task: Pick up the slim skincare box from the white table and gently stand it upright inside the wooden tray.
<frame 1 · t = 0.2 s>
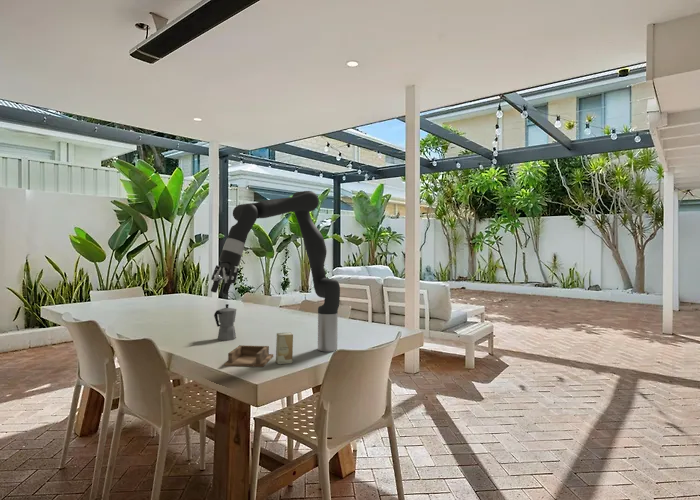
hand: (218, 292, 164), 31 cm above the table, tool tilted 20°, fingers open, 8 cm apart
skincare box: (284, 363, 182), on the table
coffeepot: (225, 339, 225), on the table
wooden tray: (249, 360, 184), on the table
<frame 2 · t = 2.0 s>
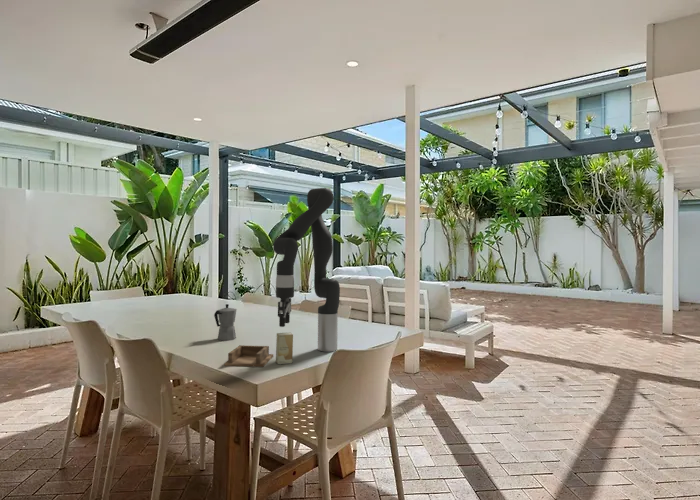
hand: (284, 324, 182), 16 cm above the table, tool pointing down, fingers open, 8 cm apart
nothing on the table moved.
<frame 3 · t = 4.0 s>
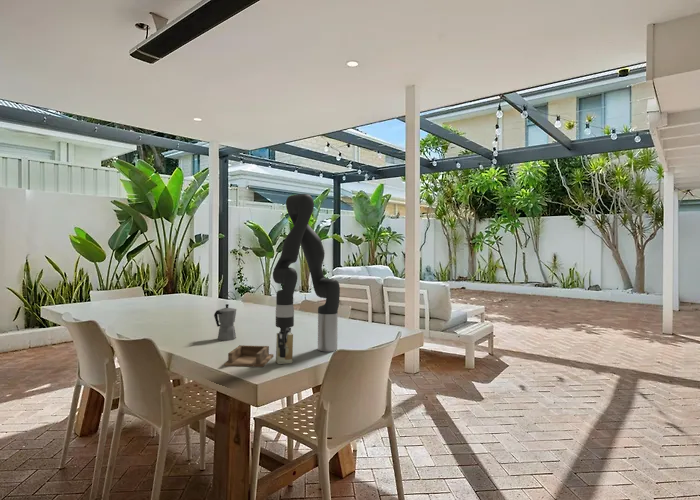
hand: (284, 355, 182), 3 cm above the table, tool pointing down, fingers closed on skincare box, 6 cm apart
skincare box: (284, 363, 182), on the table, touching gripper
everything else where it was.
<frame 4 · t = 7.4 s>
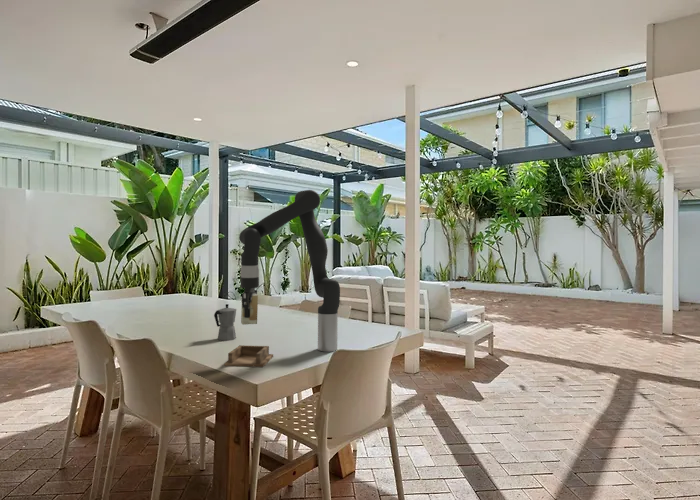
hand: (249, 316, 183), 19 cm above the table, tool pointing down, fingers closed on skincare box, 6 cm apart
skincare box: (249, 324, 183), point 16 cm above the table, touching gripper
everything else where it was.
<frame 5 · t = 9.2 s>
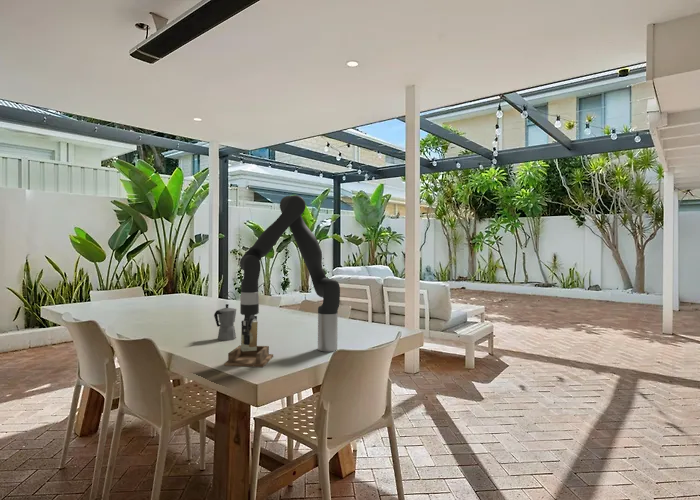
hand: (249, 342, 183), 8 cm above the table, tool pointing down, fingers closed on skincare box, 6 cm apart
skincare box: (249, 350, 183), point 5 cm above the table, touching gripper
everything else where it was.
when the fingers open (5 cm above the table, at t = 10.7 s): skincare box drops 1 cm, resting on wooden tray.
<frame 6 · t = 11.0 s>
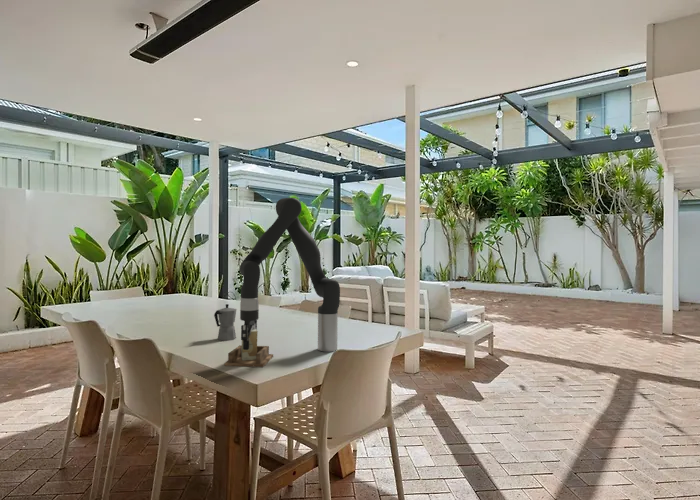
hand: (249, 347, 183), 6 cm above the table, tool pointing down, fingers open, 8 cm apart
skincare box: (249, 359, 183), point 1 cm above the table, touching wooden tray
everything else where it was.
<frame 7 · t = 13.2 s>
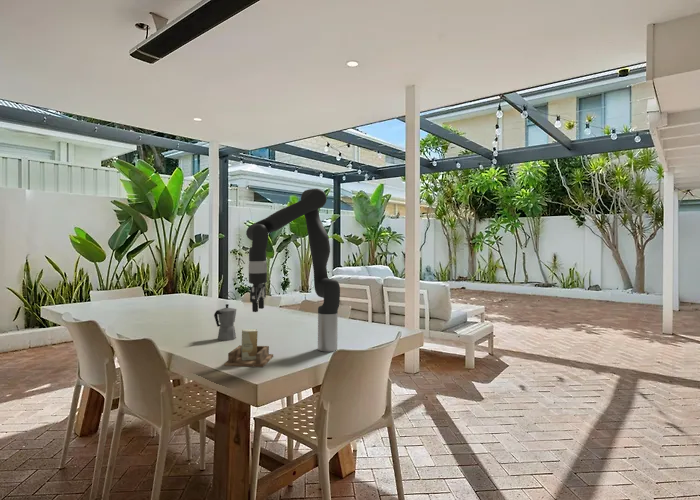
hand: (258, 310, 184), 21 cm above the table, tool pointing down, fingers open, 8 cm apart
nothing on the table moved.
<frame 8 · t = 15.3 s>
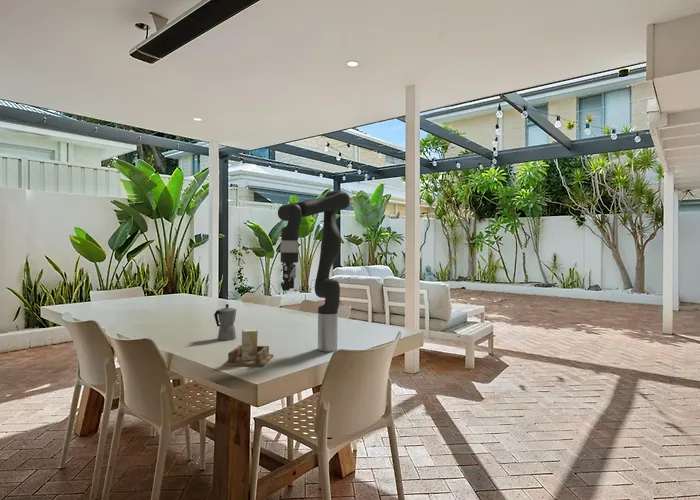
hand: (289, 289, 185), 30 cm above the table, tool pointing down, fingers open, 8 cm apart
nothing on the table moved.
at the end: skincare box 0.0 cm from the target spot on the wooden tray, point 0.8 cm above the wooden tray's base; skincare box tilted 0°; the gripper is holding nothing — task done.
